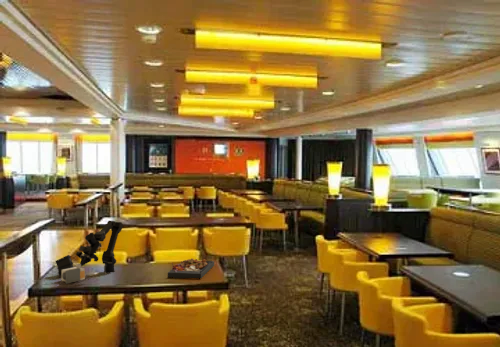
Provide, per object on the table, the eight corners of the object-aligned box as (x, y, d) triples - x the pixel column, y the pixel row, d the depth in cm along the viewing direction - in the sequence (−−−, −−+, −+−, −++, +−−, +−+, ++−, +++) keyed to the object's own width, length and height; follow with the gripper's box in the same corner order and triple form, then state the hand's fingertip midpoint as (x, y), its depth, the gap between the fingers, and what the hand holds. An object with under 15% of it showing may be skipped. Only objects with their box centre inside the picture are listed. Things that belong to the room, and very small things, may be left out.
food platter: (201, 279, 354) (201, 265, 354) (167, 278, 358) (167, 264, 358) (214, 266, 399) (214, 253, 399) (184, 265, 402) (184, 253, 402)
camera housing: (76, 277, 359) (76, 266, 358) (85, 279, 353) (85, 268, 353) (60, 280, 348) (59, 270, 347) (69, 282, 342) (69, 272, 342)
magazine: (75, 274, 361) (67, 255, 361) (60, 281, 363) (52, 262, 364) (78, 273, 364) (70, 254, 365) (63, 280, 367) (55, 261, 368)
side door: (78, 280, 349) (78, 263, 349) (81, 280, 347) (81, 263, 347) (64, 283, 340) (64, 266, 340) (67, 283, 338) (67, 266, 338)
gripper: (77, 240, 357) (64, 257, 348) (95, 242, 347) (81, 260, 338) (87, 249, 364) (74, 267, 355) (104, 252, 354) (91, 270, 345)
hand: (80, 266), depth 348 cm, fingers closed, pressing on side door
